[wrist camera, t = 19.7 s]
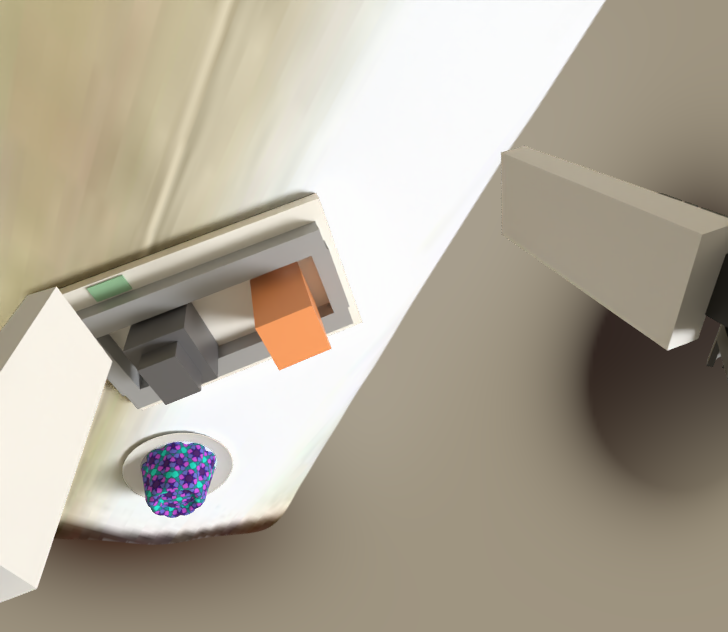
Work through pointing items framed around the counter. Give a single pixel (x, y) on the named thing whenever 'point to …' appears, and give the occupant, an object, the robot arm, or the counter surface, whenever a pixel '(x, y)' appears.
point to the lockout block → (287, 316)
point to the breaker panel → (234, 298)
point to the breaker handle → (173, 352)
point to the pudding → (177, 472)
